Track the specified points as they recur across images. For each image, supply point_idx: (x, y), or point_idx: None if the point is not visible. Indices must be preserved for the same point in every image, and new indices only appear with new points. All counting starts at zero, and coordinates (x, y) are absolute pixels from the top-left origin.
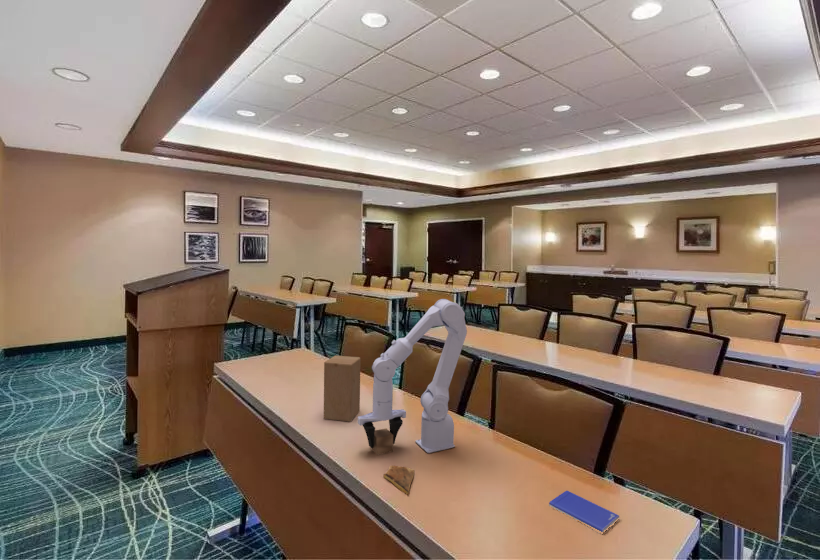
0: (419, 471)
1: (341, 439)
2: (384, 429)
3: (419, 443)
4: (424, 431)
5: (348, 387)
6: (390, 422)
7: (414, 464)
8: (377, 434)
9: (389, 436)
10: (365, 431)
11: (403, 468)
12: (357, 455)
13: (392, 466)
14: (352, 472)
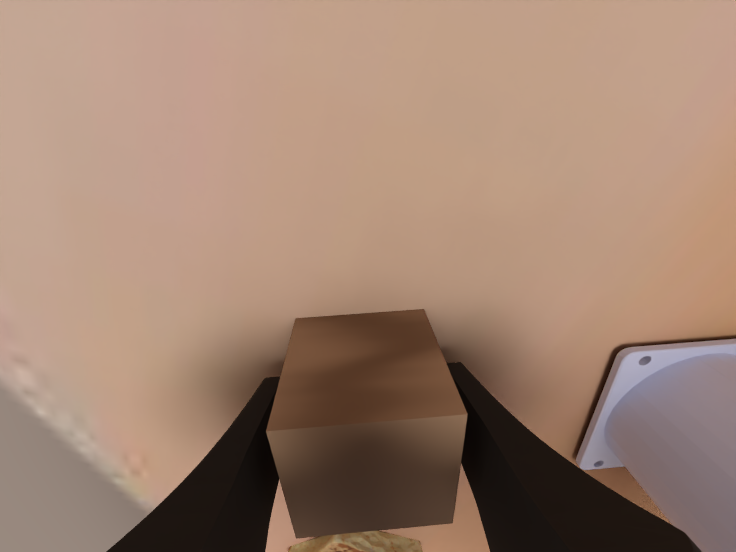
0: (443, 540)
1: (4, 68)
2: (432, 430)
3: (616, 392)
4: (703, 548)
5: None
6: (532, 542)
7: (455, 507)
8: (318, 495)
9: (414, 517)
10: (178, 494)
11: None
12: (184, 388)
13: (340, 548)
14: (150, 505)
